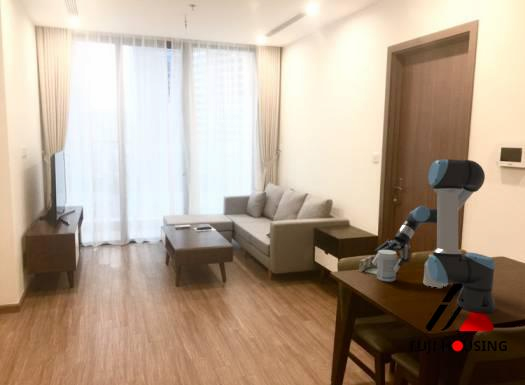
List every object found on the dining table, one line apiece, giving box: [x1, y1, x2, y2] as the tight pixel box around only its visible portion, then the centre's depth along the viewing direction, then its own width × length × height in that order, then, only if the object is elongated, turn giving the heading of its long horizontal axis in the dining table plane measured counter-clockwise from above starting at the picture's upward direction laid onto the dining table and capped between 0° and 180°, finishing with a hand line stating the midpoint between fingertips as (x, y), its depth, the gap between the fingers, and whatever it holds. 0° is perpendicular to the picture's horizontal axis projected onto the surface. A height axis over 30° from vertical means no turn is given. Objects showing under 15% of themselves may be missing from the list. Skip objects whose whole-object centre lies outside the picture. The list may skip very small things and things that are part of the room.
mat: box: [364, 267, 377, 275], centre depth 233 cm, size 10×10×1 cm
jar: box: [422, 253, 449, 289], centre depth 214 cm, size 12×10×15 cm
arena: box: [358, 255, 377, 273], centre depth 234 cm, size 14×14×6 cm
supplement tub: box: [376, 250, 398, 283], centre depth 220 cm, size 10×10×15 cm
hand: (383, 267), depth 219 cm, fingers open, 13 cm apart
